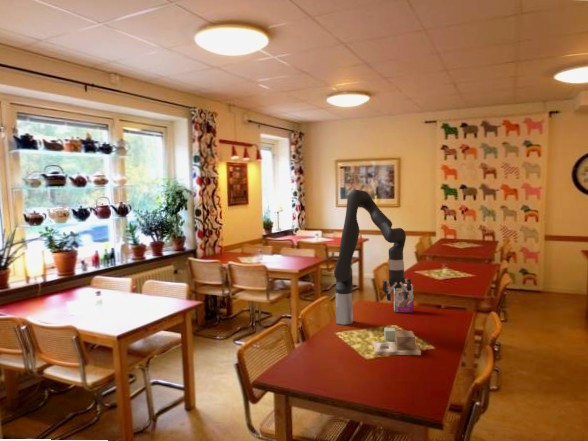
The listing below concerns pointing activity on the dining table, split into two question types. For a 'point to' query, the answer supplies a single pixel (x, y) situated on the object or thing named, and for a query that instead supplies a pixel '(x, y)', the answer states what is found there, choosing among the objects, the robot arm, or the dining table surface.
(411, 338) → the walnut base block
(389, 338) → the sage cube
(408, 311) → the candy bar box
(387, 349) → the birch board
